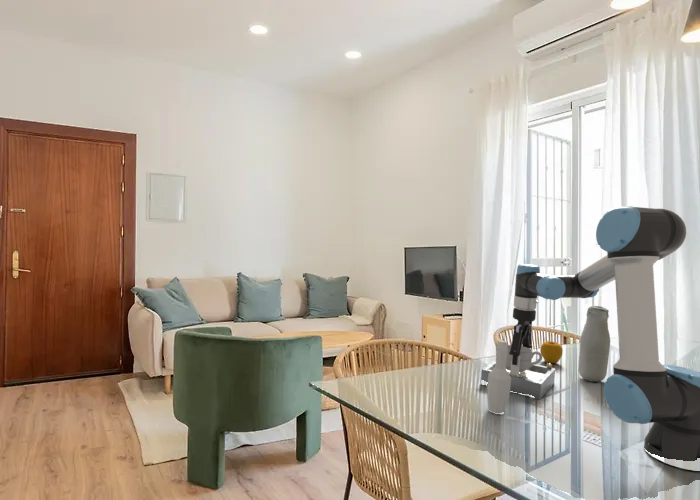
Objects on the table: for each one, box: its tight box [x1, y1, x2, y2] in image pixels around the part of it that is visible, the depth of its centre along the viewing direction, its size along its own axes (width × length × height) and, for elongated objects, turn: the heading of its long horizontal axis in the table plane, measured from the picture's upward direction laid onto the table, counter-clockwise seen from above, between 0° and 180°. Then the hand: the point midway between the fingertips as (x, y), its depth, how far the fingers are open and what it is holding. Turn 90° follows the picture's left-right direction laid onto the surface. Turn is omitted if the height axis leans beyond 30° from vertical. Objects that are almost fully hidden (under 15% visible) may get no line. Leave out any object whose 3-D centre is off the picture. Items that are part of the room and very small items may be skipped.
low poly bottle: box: [486, 339, 511, 413], centre depth 148 cm, size 6×6×22 cm
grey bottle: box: [578, 305, 611, 382], centre depth 181 cm, size 10×10×28 cm
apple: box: [539, 340, 563, 364], centre depth 201 cm, size 9×8×9 cm
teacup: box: [506, 344, 543, 372], centre depth 173 cm, size 14×11×8 cm
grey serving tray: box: [480, 359, 556, 401], centre depth 174 cm, size 20×20×7 cm
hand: (519, 369), depth 174 cm, fingers closed on teacup, 11 cm apart
